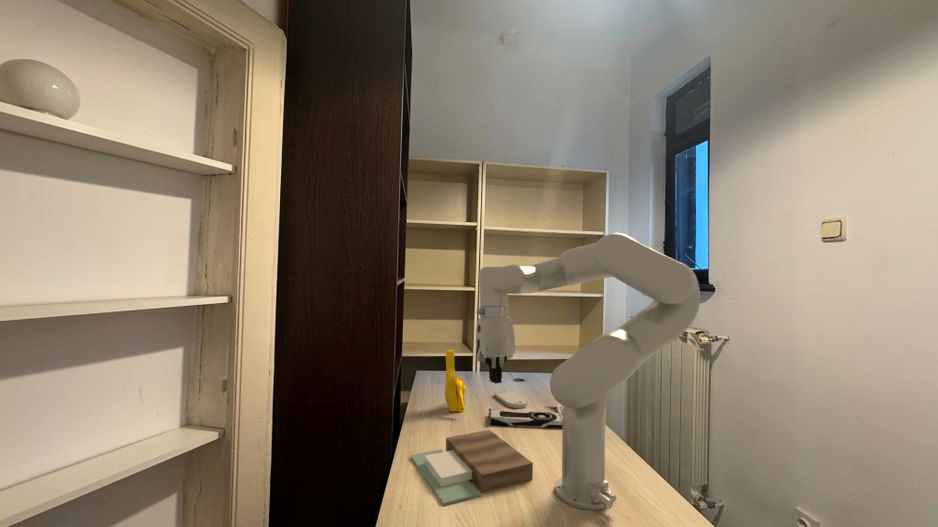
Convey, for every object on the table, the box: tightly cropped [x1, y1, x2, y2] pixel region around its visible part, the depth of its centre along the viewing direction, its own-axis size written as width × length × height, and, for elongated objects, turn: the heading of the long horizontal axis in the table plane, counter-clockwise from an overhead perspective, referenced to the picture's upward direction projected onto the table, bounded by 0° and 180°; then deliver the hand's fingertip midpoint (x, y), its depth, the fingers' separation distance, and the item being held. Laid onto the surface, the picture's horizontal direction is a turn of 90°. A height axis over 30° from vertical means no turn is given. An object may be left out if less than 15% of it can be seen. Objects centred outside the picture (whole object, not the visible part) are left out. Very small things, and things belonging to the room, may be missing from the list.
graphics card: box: [488, 408, 562, 430], centre depth 130 cm, size 10×3×25 cm
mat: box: [410, 448, 481, 507], centre depth 95 cm, size 24×9×1 cm, turn 26°
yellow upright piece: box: [444, 349, 467, 413], centre depth 142 cm, size 18×8×22 cm, turn 9°
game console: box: [494, 389, 528, 409], centre depth 153 cm, size 18×2×8 cm
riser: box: [445, 429, 534, 493], centre depth 101 cm, size 22×14×4 cm, turn 26°
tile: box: [424, 450, 472, 487], centre depth 96 cm, size 12×8×2 cm, turn 26°
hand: (495, 382), depth 101 cm, fingers closed
